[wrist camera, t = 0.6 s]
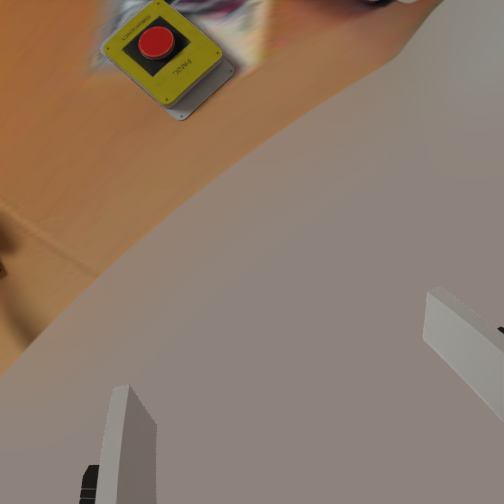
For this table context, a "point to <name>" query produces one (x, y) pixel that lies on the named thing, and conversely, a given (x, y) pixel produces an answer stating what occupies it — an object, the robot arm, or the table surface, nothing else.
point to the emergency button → (168, 58)
